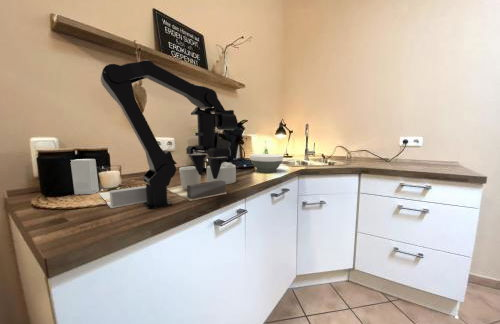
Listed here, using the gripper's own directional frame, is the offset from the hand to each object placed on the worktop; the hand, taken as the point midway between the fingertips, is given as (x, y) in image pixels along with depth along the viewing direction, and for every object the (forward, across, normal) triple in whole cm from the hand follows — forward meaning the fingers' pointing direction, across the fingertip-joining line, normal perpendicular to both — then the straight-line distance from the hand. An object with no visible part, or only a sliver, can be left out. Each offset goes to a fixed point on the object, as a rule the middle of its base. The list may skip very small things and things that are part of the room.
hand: (207, 176), depth 75 cm
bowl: (+7, +26, -55) cm, 61 cm away
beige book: (+7, +9, 0) cm, 11 cm away
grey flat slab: (+7, +16, +20) cm, 27 cm away
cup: (+6, +13, 0) cm, 15 cm away
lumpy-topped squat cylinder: (+7, +17, -18) cm, 25 cm away
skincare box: (+7, +32, +30) cm, 44 cm away
